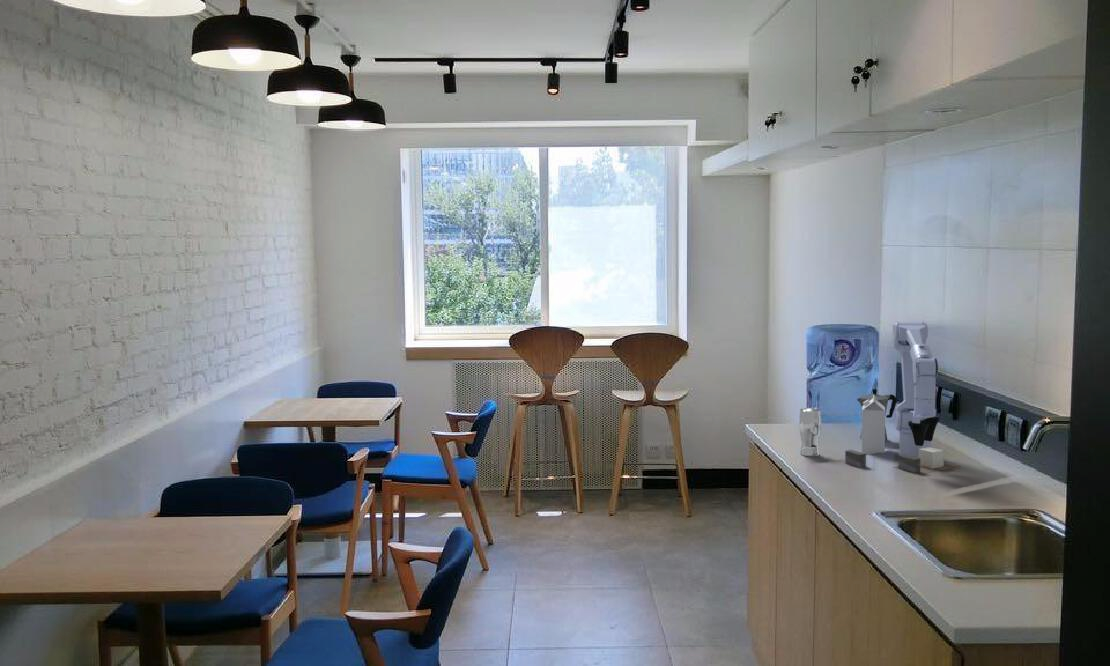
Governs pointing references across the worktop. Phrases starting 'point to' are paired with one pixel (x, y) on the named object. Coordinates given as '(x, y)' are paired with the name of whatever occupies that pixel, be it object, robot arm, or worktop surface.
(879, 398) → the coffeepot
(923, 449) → the ceramic block
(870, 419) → the milk carton
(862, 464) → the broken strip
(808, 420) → the silver drinking tumbler
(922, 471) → the walnut strip
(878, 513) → the worktop surface
